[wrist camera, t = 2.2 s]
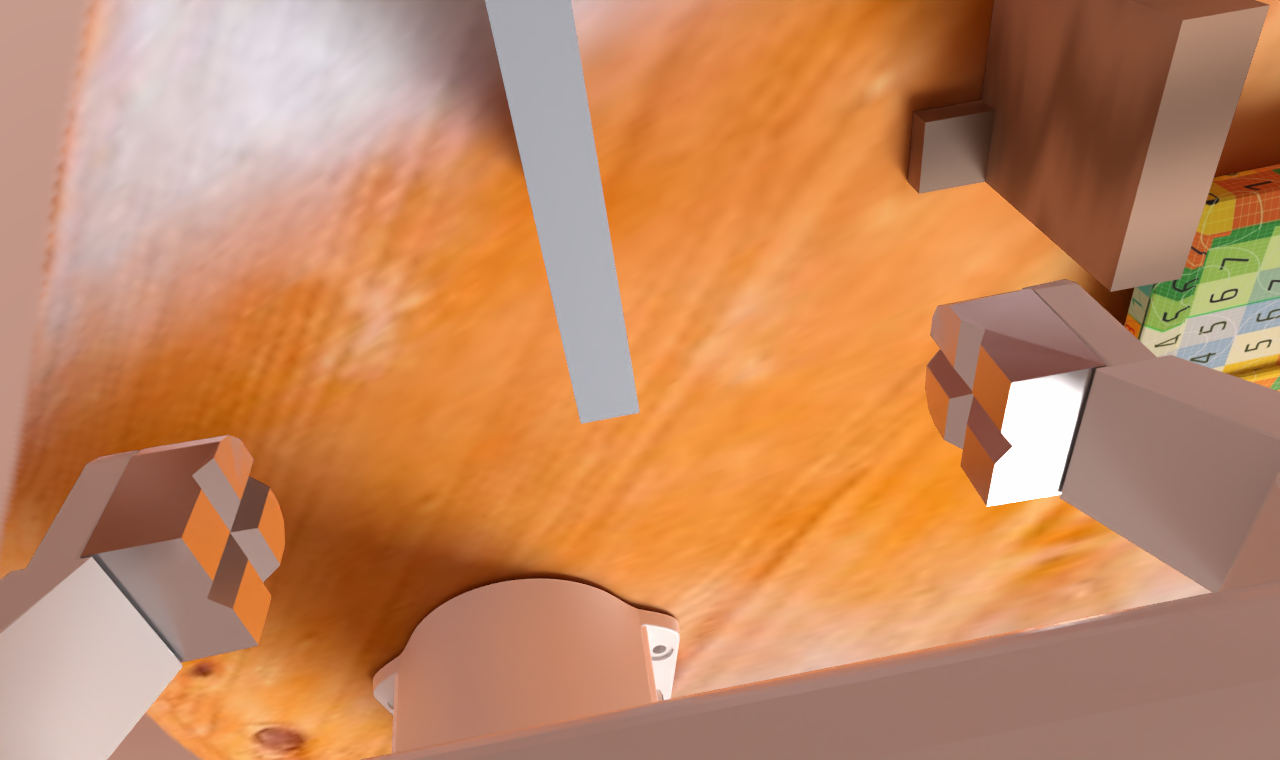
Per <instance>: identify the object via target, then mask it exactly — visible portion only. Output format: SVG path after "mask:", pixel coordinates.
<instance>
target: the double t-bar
mask: <svg viewBox="0 0 1280 760" xmlns="http://www.w3.org/2000/svg"><path fill="white" fill-rule="evenodd" d="M1269 6H1270V5H1268V4H1265V3H1262V2H1259V1H1255V0H994V4H993V12H992V20H991V27H990V35H989V43H988V51H987V58H986V66H985V74H984V81H983V89H982V97H981V100H978V101H973V102H967V103H961V104H956V105H950V106H944V107H939V108H933V109H928V110H922V111H916V112H913V120H912V133H911V145H910V158H909V170H908V182H909V184H910V185H911V186H912V187H913V188H914V189H915V190H916V191H917V192H918V193H925V192H930V191H936V190H942V189H947V188H953V187H958V186H964V185H969V184H975V183H980V182H986V183H987V184H988V185H990V186H991V187H992V188H993V189H994V190H995V191H996V192H998V193H999V194H1000V195H1001V196H1002V197H1003V198H1004V199H1005V200H1007V201H1008V202H1009V203H1010V204H1011V205H1012V206H1013V207H1015V208H1016V209H1017V210H1018V211H1019V212H1020V213H1021V214H1023V215H1024V216H1025V217H1026V218H1027V219H1028V220H1029V221H1030V222H1032V223H1033V224H1034V225H1035V226H1036V227H1037V228H1038V229H1040V230H1041V231H1042V232H1043V233H1044V234H1045V235H1046V236H1048V237H1049V238H1050V239H1051V240H1052V241H1053V242H1054V243H1055V244H1057V245H1058V246H1059V247H1060V248H1061V249H1062V250H1063V251H1065V252H1066V253H1067V254H1068V255H1069V256H1070V257H1071V258H1072V259H1074V260H1075V261H1076V262H1077V263H1078V264H1079V265H1080V266H1082V267H1083V268H1084V269H1085V270H1086V271H1087V272H1088V273H1090V274H1091V275H1092V276H1093V277H1094V278H1095V279H1096V280H1097V281H1099V282H1100V283H1101V284H1102V285H1103V286H1104V287H1105V288H1107V289H1108V290H1109V291H1110V292H1112V291H1118V290H1123V289H1129V288H1134V287H1139V286H1145V285H1150V284H1155V283H1161V282H1166V281H1171V280H1177V279H1181V277H1182V274H1183V271H1184V267H1185V264H1186V261H1187V258H1188V255H1189V252H1190V249H1191V246H1192V243H1193V240H1194V237H1195V234H1196V231H1197V227H1198V224H1199V221H1200V218H1201V215H1202V212H1203V209H1204V206H1205V203H1206V200H1207V197H1208V194H1209V190H1210V187H1211V184H1212V181H1213V178H1214V175H1215V172H1216V169H1217V166H1218V163H1219V160H1220V157H1221V153H1222V150H1223V147H1224V144H1225V141H1226V138H1227V135H1228V132H1229V129H1230V126H1231V123H1232V120H1233V117H1234V113H1235V110H1236V107H1237V104H1238V101H1239V98H1240V95H1241V92H1242V89H1243V86H1244V83H1245V80H1246V76H1247V73H1248V70H1249V67H1250V64H1251V61H1252V58H1253V55H1254V52H1255V49H1256V46H1257V43H1258V40H1259V36H1260V33H1261V30H1262V27H1263V24H1264V21H1265V18H1266V15H1267V12H1268V9H1269Z"/></svg>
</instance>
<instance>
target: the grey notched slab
mask: <svg viewBox="0 0 1280 760" xmlns="http://www.w3.org/2000/svg"><path fill="white" fill-rule="evenodd" d="M485 3H486V8H487V12H488V16H489V21H490V25H491V30H492V34H493V38H494V43H495V47H496V52H497V56H498V60H499V65H500V69H501V74H502V78H503V82H504V87H505V91H506V96H507V100H508V105H509V109H510V113H511V118H512V122H513V127H514V131H515V135H516V140H517V144H518V149H519V153H520V157H521V162H522V166H523V171H524V175H525V179H526V184H527V188H528V193H529V197H530V201H531V206H532V210H533V215H534V219H535V223H536V228H537V232H538V237H539V241H540V245H541V250H542V254H543V259H544V263H545V267H546V272H547V276H548V281H549V285H550V289H551V294H552V298H553V303H554V307H555V311H556V316H557V320H558V325H559V329H560V333H561V338H562V342H563V347H564V351H565V356H566V360H567V364H568V369H569V373H570V378H571V382H572V386H573V391H574V395H575V400H576V404H577V408H578V413H579V417H580V422H581V424H582V423H587V422H592V421H598V420H603V419H608V418H614V417H619V416H624V415H630V414H635V413H640V412H639V406H638V400H637V394H636V388H635V382H634V376H633V370H632V364H631V358H630V352H629V346H628V340H627V334H626V328H625V322H624V316H623V310H622V304H621V298H620V292H619V286H618V280H617V274H616V268H615V262H614V256H613V250H612V244H611V238H610V232H609V226H608V220H607V214H606V208H605V202H604V196H603V190H602V184H601V178H600V172H599V166H598V160H597V154H596V148H595V142H594V136H593V130H592V124H591V118H590V112H589V106H588V100H587V94H586V88H585V82H584V76H583V70H582V64H581V58H580V52H579V46H578V40H577V34H576V28H575V22H574V16H573V10H572V4H571V0H485Z"/></svg>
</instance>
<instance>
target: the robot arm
mask: <svg viewBox="0 0 1280 760" xmlns="http://www.w3.org/2000/svg"><path fill="white" fill-rule="evenodd" d="M930 335H931V337H932V338H933V339H934V341H935V342H936V344H937V345H938V346H939V348H940V350H939V351H938V352H937V354H936V355H935V356H934V357H933V358H932V360H931V361H930V362H929V363H928V364H927V370H926V383H925V390H926V396H927V402H928V408H929V411H930V414H931V416H932V419H933V421H934V424H935V426H936V428H937V429H938V431H939V433H940V434H941V436H942V437H943V439H944V440H945V441H947V442H949V443H951V444H953V445H955V446H957V447H959V448H961V449H963V453H962V460H961V467H962V469H963V470H964V472H965V473H966V475H967V477H968V478H969V480H970V481H971V483H972V484H973V486H974V487H975V489H976V490H977V492H978V493H979V495H980V497H981V498H982V500H983V501H984V503H985V504H986V506H993V505H999V504H1005V503H1011V502H1017V501H1023V500H1029V499H1035V498H1042V497H1048V496H1054V495H1060V494H1061V496H1060V498H1061V499H1063V500H1064V501H1066V502H1067V503H1069V504H1071V505H1072V506H1074V507H1076V508H1077V509H1079V510H1080V511H1082V512H1084V513H1085V514H1087V515H1088V516H1090V517H1092V518H1093V519H1095V520H1097V521H1098V522H1100V523H1101V524H1103V525H1105V526H1106V527H1108V528H1109V529H1111V530H1113V531H1114V532H1116V533H1117V534H1119V535H1121V536H1122V537H1124V538H1126V539H1127V540H1129V541H1130V542H1132V543H1134V544H1135V545H1137V546H1138V547H1140V548H1142V549H1143V550H1145V551H1147V552H1148V553H1150V554H1151V555H1153V556H1155V557H1156V558H1158V559H1159V560H1161V561H1163V562H1164V563H1166V564H1168V565H1169V566H1171V567H1172V568H1174V569H1176V570H1177V571H1179V572H1180V573H1182V574H1184V575H1185V576H1187V577H1188V578H1190V579H1192V580H1193V581H1195V582H1197V583H1198V584H1200V585H1201V586H1203V587H1205V588H1206V589H1208V590H1209V591H1211V592H1213V593H1208V594H1203V595H1198V596H1193V597H1188V598H1183V599H1178V600H1173V601H1168V602H1162V603H1157V604H1152V605H1147V606H1142V607H1137V608H1132V609H1127V610H1122V611H1117V612H1111V613H1106V614H1101V615H1096V616H1091V617H1086V618H1081V619H1076V620H1071V621H1065V622H1060V623H1055V624H1050V625H1045V626H1040V627H1035V628H1030V629H1025V630H1019V631H1014V632H1009V633H1004V634H999V635H994V636H989V637H984V638H979V639H974V640H968V641H963V642H958V643H953V644H948V645H943V646H938V647H933V648H928V649H922V650H917V651H912V652H907V653H902V654H897V655H892V656H887V657H882V658H876V659H871V660H866V661H861V662H856V663H851V664H846V665H841V666H836V667H830V668H825V669H820V670H815V671H810V672H805V673H800V674H795V675H790V676H785V677H780V678H774V679H769V680H764V681H759V682H754V683H749V684H744V685H739V686H734V687H729V688H723V689H718V690H713V691H708V692H703V693H698V694H693V695H688V696H683V697H678V698H673V699H670V698H671V692H672V685H673V679H674V673H675V666H676V660H677V654H678V647H679V641H680V634H679V623H678V621H677V620H676V619H675V618H673V617H671V616H669V615H666V614H662V613H657V612H652V611H647V610H641V609H637V608H634V607H632V606H630V605H628V604H626V603H625V602H623V601H621V600H620V599H618V598H616V597H615V596H613V595H611V594H609V593H607V592H605V591H603V590H601V589H598V588H595V587H592V586H589V585H586V584H582V583H577V582H573V581H567V580H559V579H519V580H511V581H505V582H499V583H495V584H490V585H487V586H483V587H480V588H477V589H473V590H471V591H468V592H466V593H463V594H461V595H459V596H457V597H455V598H453V599H451V600H449V601H447V602H445V603H444V604H442V605H441V606H439V607H438V608H436V609H435V610H434V611H432V612H431V613H430V614H429V615H428V616H427V617H425V618H424V619H423V620H422V622H421V623H420V624H419V625H418V626H417V628H416V629H415V630H414V632H413V634H412V635H411V637H410V639H409V641H408V643H407V645H406V647H405V649H404V650H403V652H402V653H401V654H400V655H399V656H398V657H396V658H395V659H394V660H392V661H391V662H389V663H388V664H387V665H385V666H384V667H383V668H381V669H380V670H379V671H378V672H377V673H376V674H375V676H374V678H373V695H374V697H375V698H376V699H377V700H378V701H379V702H380V703H381V704H382V705H383V706H384V707H385V708H386V709H387V710H388V711H389V712H390V713H391V714H392V715H393V736H392V754H387V755H381V756H376V757H371V758H366V759H361V760H1280V391H1277V390H1274V389H1271V388H1268V387H1265V386H1262V385H1259V384H1256V383H1253V382H1250V381H1247V380H1244V379H1241V378H1238V377H1235V376H1232V375H1229V374H1226V373H1223V372H1220V371H1217V370H1214V369H1211V368H1208V367H1205V366H1202V365H1199V364H1196V363H1193V362H1191V361H1188V360H1185V359H1182V358H1179V357H1176V356H1173V355H1168V356H1162V357H1156V356H1155V355H1154V354H1153V353H1152V352H1151V351H1150V350H1149V349H1148V348H1147V347H1146V346H1144V345H1143V344H1142V343H1141V342H1140V341H1139V340H1138V339H1137V338H1136V337H1135V336H1134V335H1133V334H1132V333H1130V332H1129V331H1128V330H1127V329H1126V328H1125V327H1124V326H1123V325H1122V324H1121V323H1120V322H1119V321H1117V320H1116V319H1115V318H1114V317H1113V316H1112V315H1111V314H1110V313H1109V312H1108V311H1107V310H1106V309H1105V308H1103V307H1102V306H1101V305H1100V304H1099V303H1098V302H1097V301H1096V300H1095V299H1094V298H1093V297H1092V296H1090V295H1089V294H1088V293H1087V292H1086V291H1085V290H1084V289H1083V288H1082V287H1081V286H1080V285H1079V284H1078V283H1076V282H1073V281H1070V280H1066V279H1063V280H1059V281H1054V282H1049V283H1045V284H1040V285H1035V286H1030V287H1026V288H1023V289H1022V290H1018V291H1013V292H1008V293H1002V294H997V295H992V296H986V297H981V298H976V299H970V300H965V301H960V302H954V303H949V304H944V305H939V306H938V307H937V309H936V311H935V313H934V315H933V319H932V326H931V334H930ZM253 462H254V459H253V457H252V456H251V454H250V453H249V451H248V450H247V448H246V446H245V445H244V443H243V442H242V440H241V439H239V438H236V437H233V436H231V435H226V436H220V437H214V438H208V439H201V440H195V441H189V442H183V443H177V444H170V445H164V446H158V447H152V448H146V449H143V450H135V451H130V452H124V453H118V454H113V455H107V456H101V457H98V458H96V459H95V460H93V461H91V462H89V463H87V464H86V466H85V467H84V469H83V471H82V473H81V474H80V476H79V478H78V480H77V481H76V483H75V485H74V486H73V488H72V490H71V492H70V493H69V495H68V497H67V499H66V500H65V502H64V504H63V505H62V507H61V509H60V511H59V512H58V514H57V516H56V518H55V519H54V521H53V523H52V524H51V526H50V528H49V530H48V531H47V533H46V535H45V537H44V538H43V540H42V542H41V543H40V545H39V547H38V549H37V550H36V552H35V554H34V556H33V557H32V559H31V561H30V562H29V564H28V566H27V568H26V569H22V570H17V571H12V572H10V573H9V574H7V575H6V576H5V577H3V578H2V579H1V580H0V760H107V759H108V758H109V757H110V755H111V754H112V753H113V752H114V750H115V749H116V748H117V747H118V745H119V744H120V743H121V742H122V741H123V739H124V738H125V737H126V736H127V734H128V733H129V732H130V731H131V730H132V728H133V727H134V726H135V724H136V723H137V722H138V721H139V720H140V718H141V717H142V716H143V715H144V714H145V712H146V711H147V710H148V709H149V707H150V706H151V705H152V704H153V702H154V701H155V700H156V699H157V698H158V696H159V695H160V694H161V693H162V691H163V690H164V689H165V688H166V686H167V685H168V684H169V683H170V682H171V680H172V679H173V678H174V677H175V675H176V674H177V673H178V672H179V670H180V669H181V668H182V667H183V665H182V664H181V662H186V661H190V660H195V659H200V658H204V657H209V656H213V655H218V654H222V653H227V652H232V651H236V650H241V649H245V648H250V647H254V646H259V642H260V639H261V635H262V631H263V628H264V624H265V620H266V617H267V613H268V609H269V606H270V602H271V598H272V596H271V594H270V592H269V591H268V589H267V588H266V586H265V585H264V583H263V582H264V581H265V580H266V579H267V578H268V577H269V576H270V575H271V574H272V573H273V572H274V571H275V570H276V569H277V568H278V567H279V566H280V564H281V560H282V556H283V551H284V547H285V530H284V518H283V515H282V512H281V509H280V506H279V502H278V501H277V499H276V497H275V495H274V493H273V492H272V490H271V488H270V487H269V486H267V485H265V484H263V483H261V482H259V481H257V480H255V479H254V478H252V477H250V476H249V474H250V471H251V468H252V465H253Z"/></svg>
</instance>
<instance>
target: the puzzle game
mask: <svg viewBox="0 0 1280 760" xmlns="http://www.w3.org/2000/svg"><path fill="white" fill-rule="evenodd" d="M1124 327H1125V328H1126V329H1127V330H1128V331H1129V332H1130V333H1132V334H1133V335H1134V336H1135V337H1136V338H1137V339H1138V340H1139V341H1140V342H1141V343H1142V344H1143V345H1144V346H1146V347H1147V348H1148V349H1149V350H1150V351H1151V352H1152V353H1153V354H1154V355H1155V356H1156V357H1162V356H1168V355H1173V356H1176V357H1179V358H1182V359H1185V360H1188V361H1191V362H1193V363H1196V364H1199V365H1202V366H1205V367H1208V368H1211V369H1214V370H1217V371H1220V372H1223V373H1226V374H1229V375H1232V376H1235V377H1238V378H1241V379H1244V380H1247V381H1250V382H1253V383H1256V384H1259V385H1262V386H1265V387H1268V388H1271V389H1274V390H1279V389H1280V164H1277V165H1272V166H1268V167H1263V168H1258V169H1253V170H1248V171H1243V172H1238V173H1233V174H1229V175H1224V176H1219V177H1215V178H1213V181H1212V184H1211V187H1210V190H1209V194H1208V197H1207V200H1206V203H1205V206H1204V209H1203V212H1202V215H1201V218H1200V221H1199V224H1198V227H1197V231H1196V234H1195V237H1194V240H1193V243H1192V246H1191V249H1190V252H1189V255H1188V258H1187V261H1186V264H1185V267H1184V271H1183V274H1182V277H1181V279H1177V280H1171V281H1166V282H1161V283H1155V284H1150V285H1145V286H1139V287H1134V291H1133V295H1132V299H1131V302H1130V306H1129V310H1128V314H1127V318H1126V322H1125V326H1124Z"/></svg>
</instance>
